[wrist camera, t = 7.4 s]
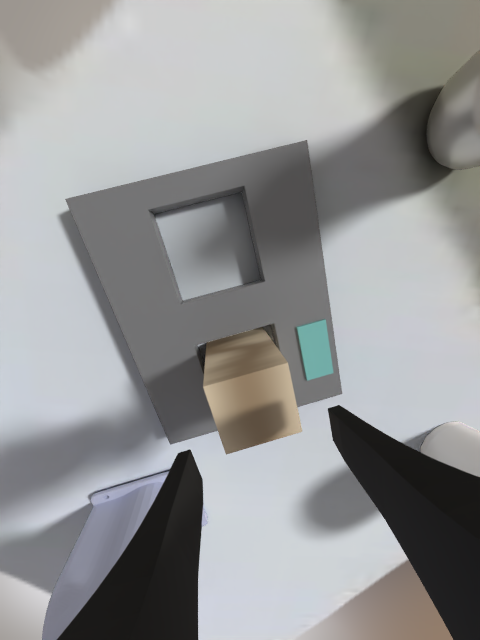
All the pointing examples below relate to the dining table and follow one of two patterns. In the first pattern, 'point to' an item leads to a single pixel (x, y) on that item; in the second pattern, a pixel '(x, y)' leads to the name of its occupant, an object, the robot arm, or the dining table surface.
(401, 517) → the robot arm
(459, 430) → the foam cup
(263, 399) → the plug
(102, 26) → the dining table surface
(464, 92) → the plastic bottle
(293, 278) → the socket panel
